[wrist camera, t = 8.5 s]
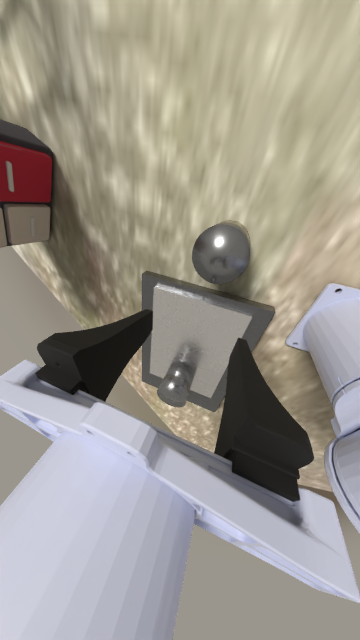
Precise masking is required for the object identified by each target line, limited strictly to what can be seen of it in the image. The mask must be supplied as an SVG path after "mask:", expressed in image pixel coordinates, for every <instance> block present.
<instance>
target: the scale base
mask: <svg viewBox="0 0 360 640" xmlns="http://www.w3.org/2000/svg"><path fill="white" fill-rule="evenodd" d="M156 285H157V286H160V287H163V288H167V289H170V290H173V291H177V292H180V293H183V294H187V295H190V296H193V297H197V298H200V299H203V300H207V301H210V302H213V303H217V304H220V305H224V306H227V307H230V308H234V309H237V310H240V311H244V312H247V313H250V314H252V319H251V321H250V323H249V325H248V327H247V328H246V330H245V332H244V334H243V336H242V338H241V339H245V340H247V342H248V345H249V348H250V351H251V352H252V350H253V348H254V347H255V345H256V343H257V342H258V340H259V338H260V337H261V335H262V333H263V332H264V330H265V328H266V327H267V325H268V323H269V322H270V320H271V318H272V317H273V315H274V314H275V309H274V307H272V306H269V305H265V304H262V303H258V302H255V301H251V300H248V299H244V298H241V297H237V296H234V295H230V294H227V293H223V292H220V291H216V290H213V289H209V288H206V287H202V286H198V285H195V284H191V283H188V282H184V281H181V280H177V279H174V278H170V277H167V276H163V275H160V274H156V273H153V272H149V271H146V272H144V273H142V311H143V310H145V309H148V310H152V311H153V295H154V287H155V286H156ZM151 337H152V331H151V333H150V335H149V336H148V338H147V339H146V341H145V342H144V343H143V344H142V381H143V382H145V383H148V384H150V385H152V386H155V387H157V388H159V386H160V384H161V382H162V380H163V378H161V377H158V376H156V375H153V374H151V373H150V358H151ZM227 370H228V366H227V368H226V370H225V372H224V374H223V375H222V377H221V379H220V381H219V383H218V385H217V387H216V389H215V391H214V393H213V395H212V397H211V398H209V397H206V396H204V395H201V394H199V393H197V392H194V391H192V390H190V391H189V394H188V397H187V401H189V402H192V403H194V404H196V405H199V406H201V407H203V408H206V409H208V410H210V411H213V412H215V411H216V410H217V408H218V406H219V405H220V403H221V401H222V400H223V398H224V396H225V395H226V384H227Z"/></svg>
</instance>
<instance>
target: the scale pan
mask: <svg viewBox="0 0 360 640" xmlns="http://www.w3.org/2000/svg"><path fill="white" fill-rule="evenodd" d="M251 319H252V314H250V313H247V312H244V311H240V310H237V309H234V308H230V307H227V306H224V305H220V304H217V303H213V302H210V301H207V300H203V299H200V298H197V297H193V296H190V295H187V294H183V293H180V292H177V291H173V290H170V289H167V288H163V287H160V286H157V285H156V286H155V287H154V295H153V330H152V337H151V358H150V373H151V374H153V375H156V376H158V377H161V378H164V376H165V374H166V373H167V371H168V369H169V367H170V365H171V363H172V362H175V361H181V362H185V363H187V364H188V365H190V366H191V367H192V368H193V369H194V371H195V376H194V379H193V382H192V385H191V388H190V390H192V391H194V392H197V393H199V394H201V395H204V396H206V397H209V398H211V397H212V395H213V393H214V391H215V389H216V387H217V385H218V383H219V381H220V379H221V377H222V375H223V374H224V372H225V370H226V368H227V366H228V363H229V358H230V355H231V352H232V350H233V348H234V346H235V344H236V341H237V339H238V338H242V336H243V334H244V332H245V330H246V328H247V327H248V325H249V323H250V321H251Z"/></svg>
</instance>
